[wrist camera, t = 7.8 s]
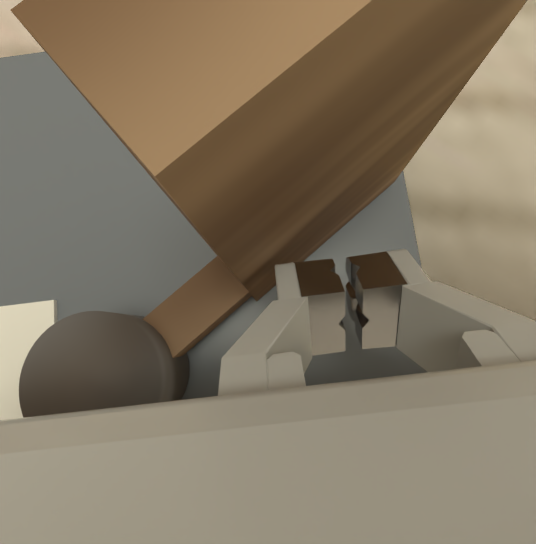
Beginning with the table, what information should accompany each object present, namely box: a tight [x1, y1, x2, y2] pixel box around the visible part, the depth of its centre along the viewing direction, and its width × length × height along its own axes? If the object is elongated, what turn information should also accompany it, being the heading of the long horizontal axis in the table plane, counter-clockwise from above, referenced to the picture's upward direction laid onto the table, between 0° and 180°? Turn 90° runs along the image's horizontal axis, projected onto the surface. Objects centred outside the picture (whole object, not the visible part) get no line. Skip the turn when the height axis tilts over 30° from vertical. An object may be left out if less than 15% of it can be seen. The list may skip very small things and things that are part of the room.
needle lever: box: [11, 0, 527, 418], centre depth 8 cm, size 4×21×11 cm, turn 131°
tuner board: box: [0, 52, 427, 420], centre depth 14 cm, size 28×22×1 cm
